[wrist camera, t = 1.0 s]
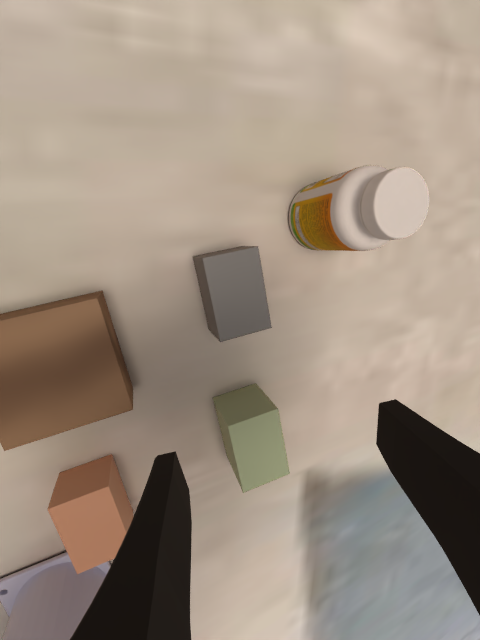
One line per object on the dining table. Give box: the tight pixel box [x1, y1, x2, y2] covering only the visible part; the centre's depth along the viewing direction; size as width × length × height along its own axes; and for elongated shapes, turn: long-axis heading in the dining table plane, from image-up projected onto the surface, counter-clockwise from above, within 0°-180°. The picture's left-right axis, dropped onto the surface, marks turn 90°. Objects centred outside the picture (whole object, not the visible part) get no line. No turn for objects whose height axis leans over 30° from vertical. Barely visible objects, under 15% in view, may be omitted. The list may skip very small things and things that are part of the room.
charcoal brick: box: [193, 246, 272, 342], centre depth 25 cm, size 6×4×4 cm, turn 10°
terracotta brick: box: [48, 454, 133, 574], centre depth 25 cm, size 6×4×4 cm, turn 12°
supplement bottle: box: [289, 165, 429, 251], centre depth 23 cm, size 5×5×10 cm
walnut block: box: [0, 291, 133, 451], centre depth 23 cm, size 8×8×4 cm
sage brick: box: [213, 384, 290, 493], centre depth 28 cm, size 6×4×5 cm, turn 11°
